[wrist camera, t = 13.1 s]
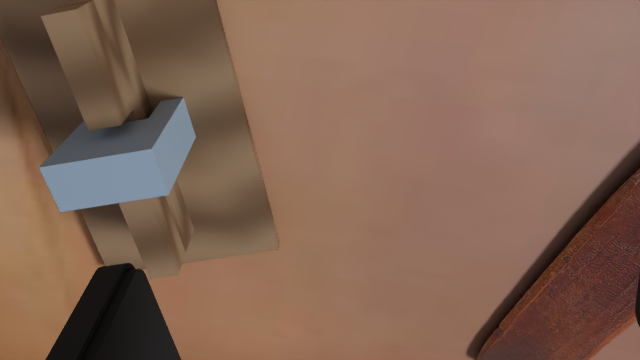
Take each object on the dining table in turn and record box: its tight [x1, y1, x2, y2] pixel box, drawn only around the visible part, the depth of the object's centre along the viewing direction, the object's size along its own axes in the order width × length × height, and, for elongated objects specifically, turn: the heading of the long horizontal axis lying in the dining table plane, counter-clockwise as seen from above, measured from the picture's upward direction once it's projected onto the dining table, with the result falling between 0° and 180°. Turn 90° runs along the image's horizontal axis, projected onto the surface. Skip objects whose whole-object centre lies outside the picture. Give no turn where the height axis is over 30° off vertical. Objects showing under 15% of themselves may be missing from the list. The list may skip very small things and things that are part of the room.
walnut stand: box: [0, 0, 279, 279], centre depth 36 cm, size 24×14×6 cm, turn 10°
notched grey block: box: [39, 97, 196, 212], centre depth 35 cm, size 7×3×8 cm, turn 100°
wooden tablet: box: [477, 168, 640, 360], centre depth 45 cm, size 27×10×2 cm, turn 151°
